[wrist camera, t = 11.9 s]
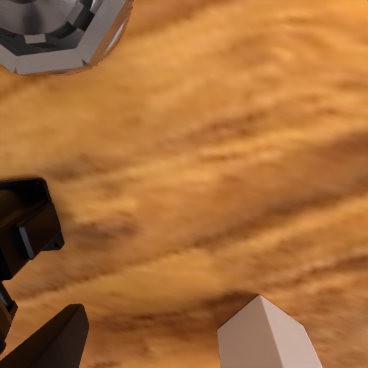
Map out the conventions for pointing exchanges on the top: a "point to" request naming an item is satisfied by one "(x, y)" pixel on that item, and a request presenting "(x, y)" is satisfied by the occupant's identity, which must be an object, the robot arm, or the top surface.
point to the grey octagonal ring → (70, 44)
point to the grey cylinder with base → (44, 19)
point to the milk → (265, 339)
